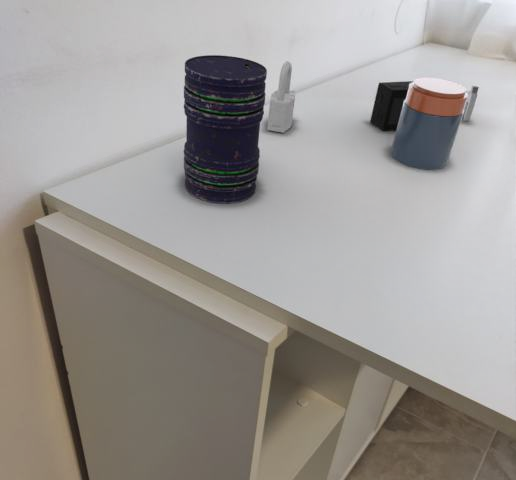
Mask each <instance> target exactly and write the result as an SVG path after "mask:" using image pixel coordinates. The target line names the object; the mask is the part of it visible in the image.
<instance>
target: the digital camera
mask: <svg viewBox="0 0 516 480" xmlns="http://www.w3.org/2000/svg"><path fill="white" fill-rule="evenodd" d="M413 81H414V80H410V81H409V80H408V81H386V82H378V85H377V89H376V94H375V98H374V103H373V108H372V112H371V115H370V120H369V121H370V122H369V123H370V124H372V125H373V126H375V127H376V128H378V129H379V130H381V131H382V132H386V131H396V128H397V124H398V120H399V117H400V113H401V109H402V105H403V101H404V100H405V99H406V95H407V91H408V87H409V84H410V83H412V82H413Z"/></svg>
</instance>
